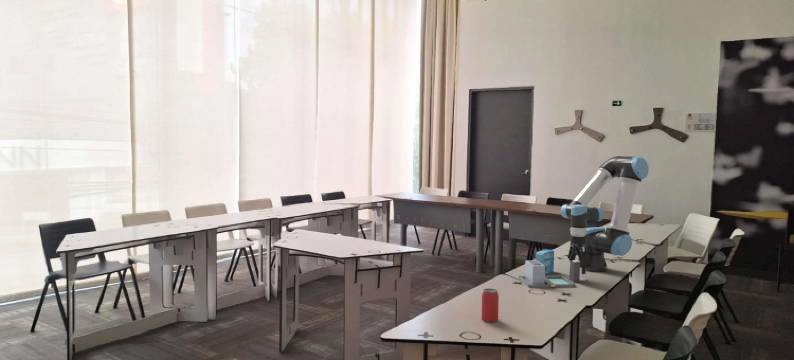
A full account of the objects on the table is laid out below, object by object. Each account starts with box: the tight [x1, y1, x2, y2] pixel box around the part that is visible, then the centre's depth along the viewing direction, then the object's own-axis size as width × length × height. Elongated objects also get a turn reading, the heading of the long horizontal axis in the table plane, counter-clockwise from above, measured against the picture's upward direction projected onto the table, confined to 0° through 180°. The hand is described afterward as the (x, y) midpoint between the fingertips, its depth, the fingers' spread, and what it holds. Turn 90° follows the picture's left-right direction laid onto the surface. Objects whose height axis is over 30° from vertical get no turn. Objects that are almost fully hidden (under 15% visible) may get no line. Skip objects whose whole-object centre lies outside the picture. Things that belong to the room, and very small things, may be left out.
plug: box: [568, 259, 586, 283], centre depth 268 cm, size 6×5×10 cm
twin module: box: [524, 259, 546, 285], centre depth 264 cm, size 6×12×10 cm, turn 3°
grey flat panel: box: [518, 275, 577, 289], centre depth 264 cm, size 23×18×2 cm
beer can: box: [481, 288, 500, 323], centre depth 210 cm, size 7×7×12 cm
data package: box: [535, 248, 555, 275], centre depth 284 cm, size 12×4×12 cm, turn 136°
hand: (577, 276), depth 268 cm, fingers open, 13 cm apart
